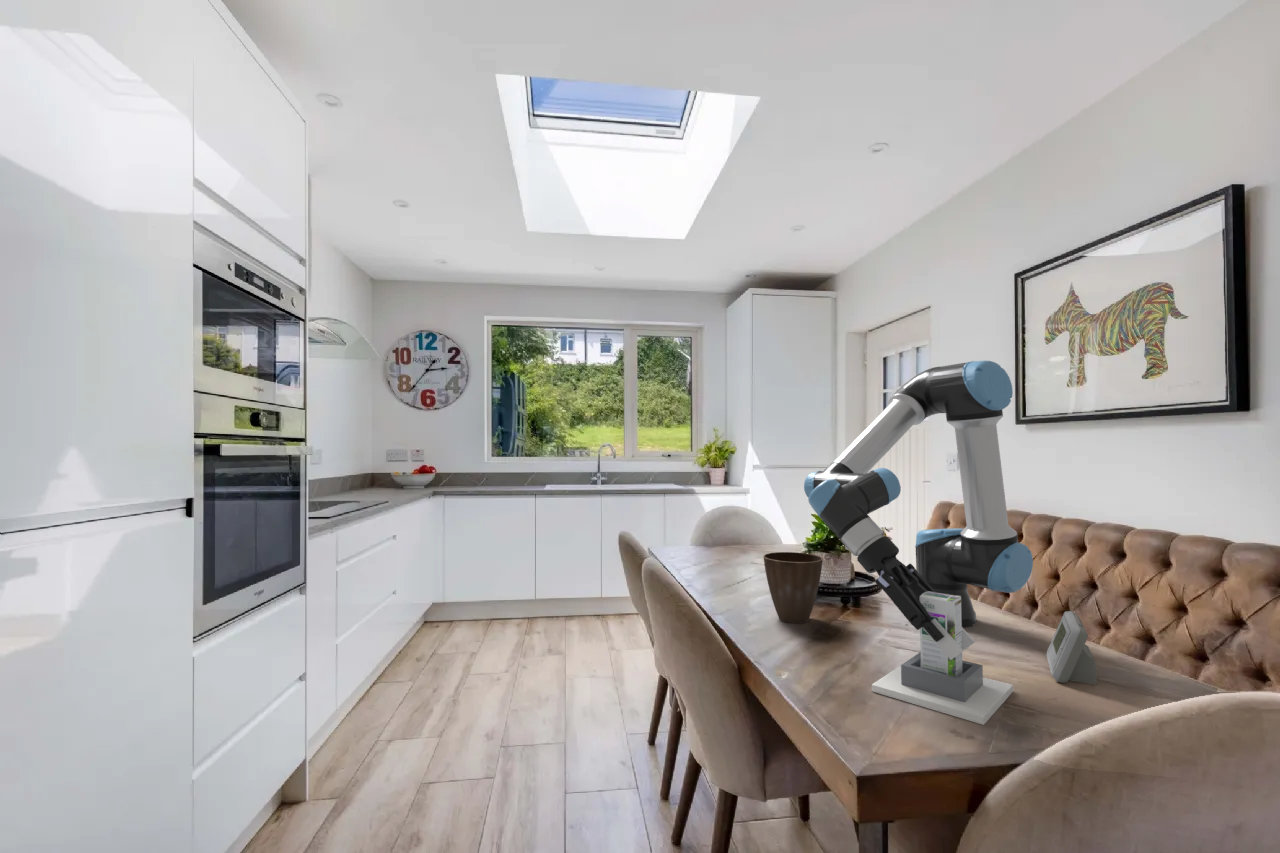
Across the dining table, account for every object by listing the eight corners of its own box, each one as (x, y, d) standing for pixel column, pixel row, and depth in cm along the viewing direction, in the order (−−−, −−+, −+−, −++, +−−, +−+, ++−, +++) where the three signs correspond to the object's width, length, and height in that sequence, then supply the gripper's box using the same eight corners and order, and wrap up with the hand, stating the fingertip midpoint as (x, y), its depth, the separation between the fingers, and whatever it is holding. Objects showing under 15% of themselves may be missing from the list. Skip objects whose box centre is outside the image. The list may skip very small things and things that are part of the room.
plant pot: (761, 610, 158) (761, 550, 158) (818, 612, 156) (817, 552, 156) (766, 626, 143) (765, 561, 143) (828, 629, 141) (827, 563, 141)
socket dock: (909, 665, 117) (909, 641, 117) (1013, 691, 104) (1012, 665, 104) (871, 691, 104) (871, 664, 105) (983, 725, 92) (983, 694, 92)
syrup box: (919, 676, 104) (918, 595, 105) (929, 667, 109) (928, 589, 109) (954, 685, 100) (952, 600, 101) (963, 675, 105) (962, 594, 105)
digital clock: (1048, 656, 122) (1046, 605, 122) (1102, 667, 116) (1101, 614, 116) (1033, 679, 110) (1032, 622, 111) (1093, 692, 104) (1091, 632, 104)
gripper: (877, 552, 123) (964, 649, 111) (835, 564, 110) (928, 676, 97) (902, 529, 119) (995, 627, 107) (862, 539, 106) (962, 652, 94)
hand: (963, 650), depth 102 cm, fingers closed on syrup box, 6 cm apart
